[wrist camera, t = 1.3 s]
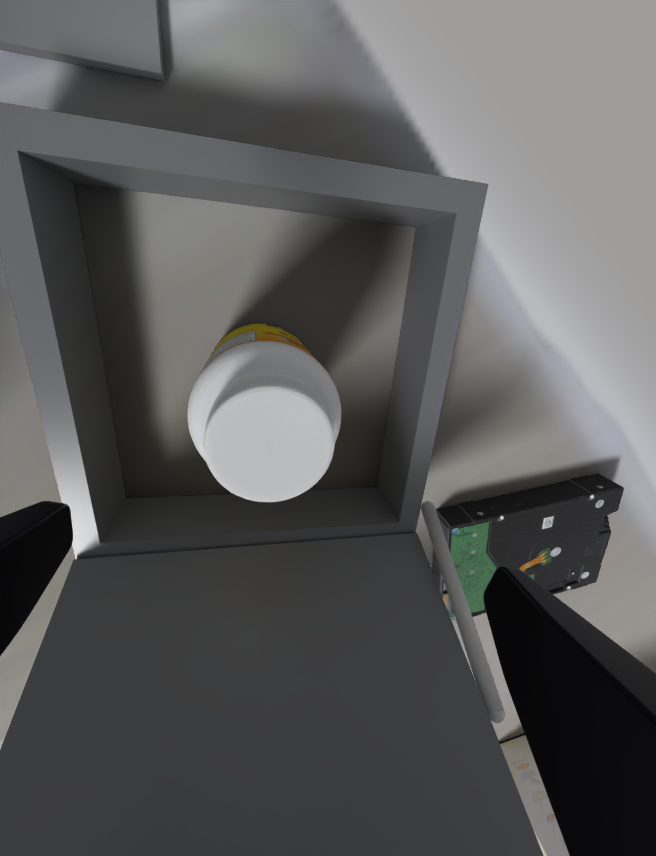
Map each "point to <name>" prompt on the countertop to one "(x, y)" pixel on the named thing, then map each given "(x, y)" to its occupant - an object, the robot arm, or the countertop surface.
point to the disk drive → (530, 536)
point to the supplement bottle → (264, 414)
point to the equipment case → (244, 564)
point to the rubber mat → (87, 33)
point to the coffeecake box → (534, 796)
